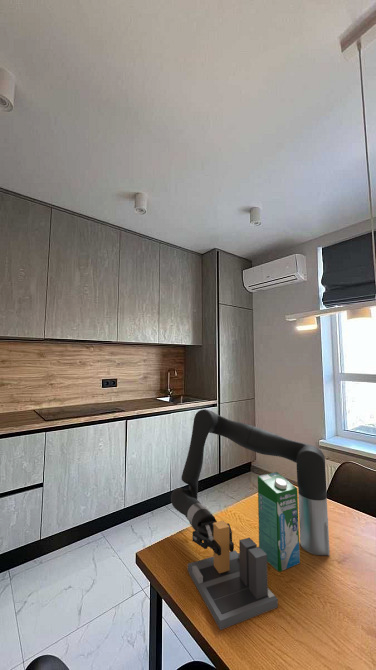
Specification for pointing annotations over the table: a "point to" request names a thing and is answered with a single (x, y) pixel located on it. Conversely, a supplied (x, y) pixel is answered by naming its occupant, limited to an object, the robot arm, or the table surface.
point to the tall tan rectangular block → (222, 547)
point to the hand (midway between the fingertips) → (226, 549)
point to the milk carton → (278, 521)
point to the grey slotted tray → (235, 585)
